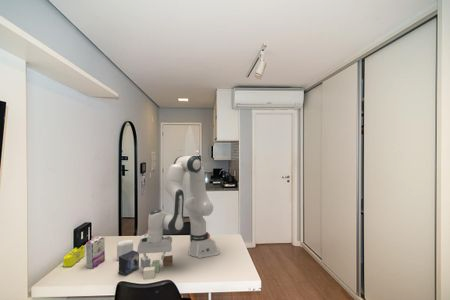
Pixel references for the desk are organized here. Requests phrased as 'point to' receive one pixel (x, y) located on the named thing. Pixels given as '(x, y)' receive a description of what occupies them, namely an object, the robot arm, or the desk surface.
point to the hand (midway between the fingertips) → (154, 259)
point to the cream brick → (149, 272)
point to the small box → (128, 263)
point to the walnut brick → (168, 260)
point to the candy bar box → (95, 252)
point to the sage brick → (156, 265)
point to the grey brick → (145, 262)
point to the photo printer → (124, 247)
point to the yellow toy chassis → (73, 256)
